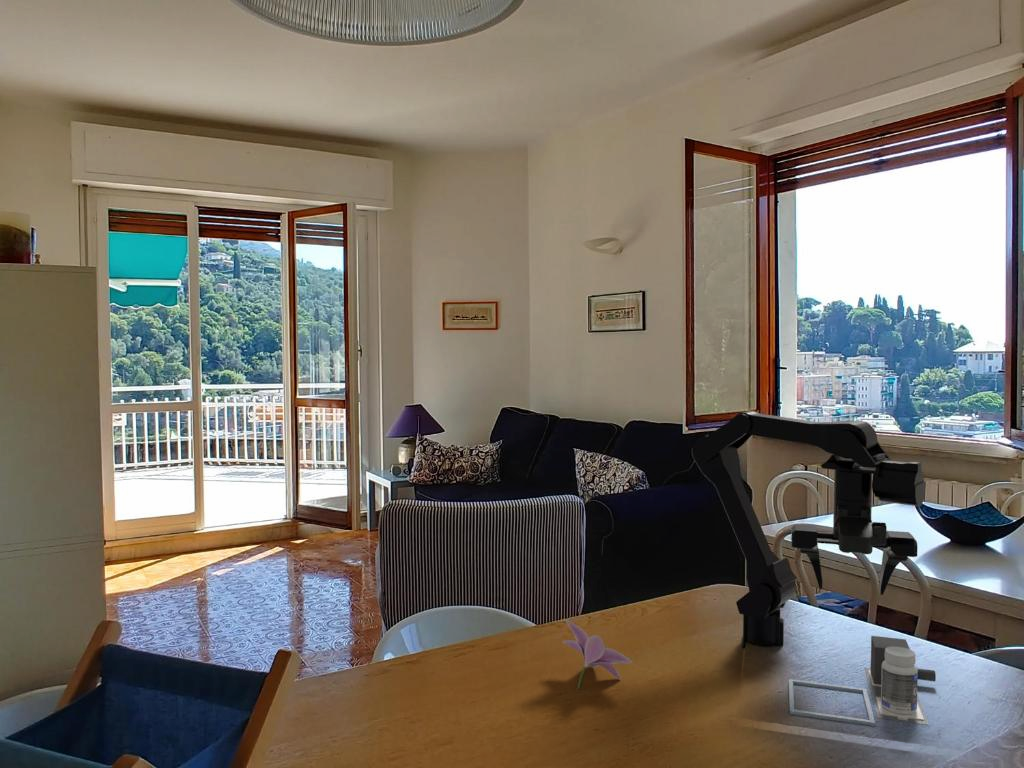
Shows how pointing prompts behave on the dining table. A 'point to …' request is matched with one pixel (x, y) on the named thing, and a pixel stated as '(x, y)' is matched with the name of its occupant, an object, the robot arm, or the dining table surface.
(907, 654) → the pill bottle
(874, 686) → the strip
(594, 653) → the lily
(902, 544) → the robot arm
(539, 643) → the dining table surface
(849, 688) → the grey square frame
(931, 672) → the grey block with peg
